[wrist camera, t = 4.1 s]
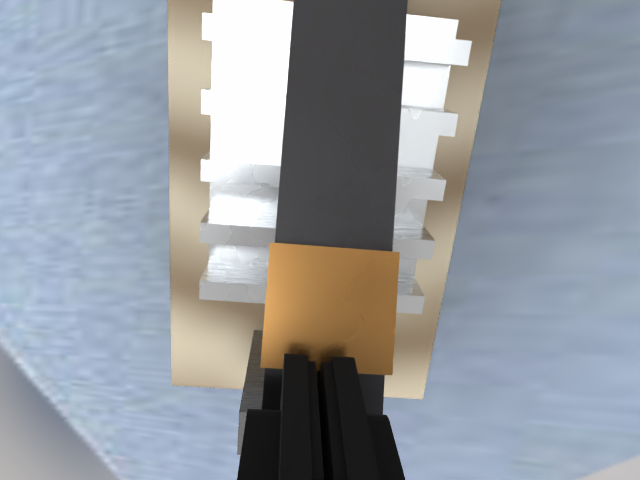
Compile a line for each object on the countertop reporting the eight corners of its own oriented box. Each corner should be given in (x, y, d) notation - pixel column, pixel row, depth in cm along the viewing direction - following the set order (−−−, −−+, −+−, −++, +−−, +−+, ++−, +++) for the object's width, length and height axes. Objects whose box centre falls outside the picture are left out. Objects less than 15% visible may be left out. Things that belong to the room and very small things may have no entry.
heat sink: (223, -176, 17) (185, -291, 12) (474, -143, 18) (555, -238, 12) (211, 362, 25) (185, 451, 19) (389, 372, 25) (414, 462, 20)
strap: (290, -172, 14) (291, -224, 13) (426, -154, 14) (442, -203, 13) (238, 470, 13) (233, 496, 11) (388, 477, 13) (401, 503, 12)
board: (178, -175, 19) (165, -201, 17) (509, -132, 20) (531, -153, 18) (180, 362, 27) (171, 385, 25) (414, 376, 28) (422, 399, 26)
